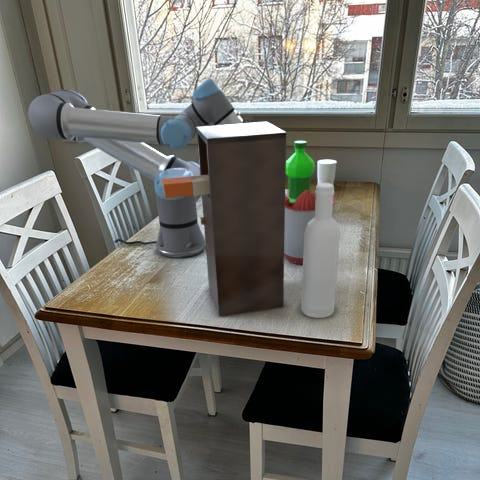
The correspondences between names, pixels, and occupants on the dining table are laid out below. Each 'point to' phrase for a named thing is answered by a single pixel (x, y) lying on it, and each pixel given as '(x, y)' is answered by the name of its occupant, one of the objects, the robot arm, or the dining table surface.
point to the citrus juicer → (298, 224)
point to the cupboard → (244, 214)
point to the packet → (186, 186)
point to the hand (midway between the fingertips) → (275, 188)
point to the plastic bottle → (299, 171)
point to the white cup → (326, 171)
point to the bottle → (320, 257)
